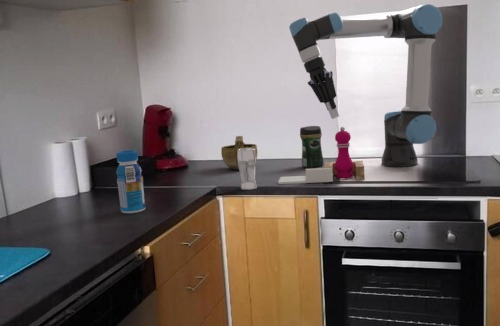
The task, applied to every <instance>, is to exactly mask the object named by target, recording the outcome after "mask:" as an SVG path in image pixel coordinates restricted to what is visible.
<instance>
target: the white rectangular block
mask: <svg viewBox="0 0 500 326" xmlns="http://www.w3.org/2000/svg"><path fill="white" fill-rule="evenodd" d="M305 176H306V183H305V184H308V183H310V184H311V183H312V184H313V183H330V182H332V183H333V182H334V175H333V174H332V168H325V167H322V168H320V167H316V168H305Z"/></svg>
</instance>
